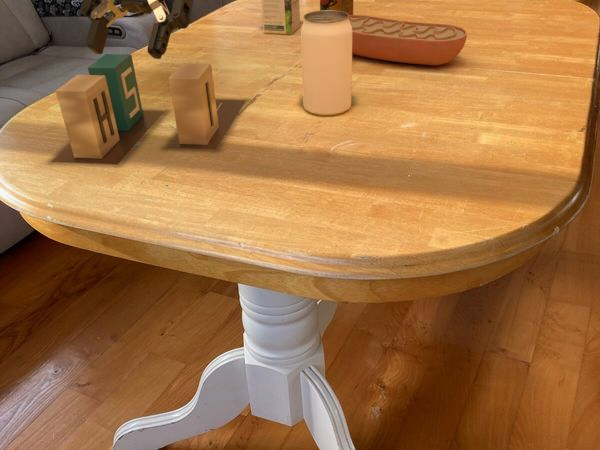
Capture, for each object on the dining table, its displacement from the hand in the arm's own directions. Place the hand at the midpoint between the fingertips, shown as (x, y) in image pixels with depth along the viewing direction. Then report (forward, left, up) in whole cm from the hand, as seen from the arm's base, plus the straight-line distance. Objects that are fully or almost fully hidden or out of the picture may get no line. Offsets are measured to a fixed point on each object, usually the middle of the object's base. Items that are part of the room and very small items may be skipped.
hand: (123, 53), depth 72 cm
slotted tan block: (+11, -2, -9) cm, 14 cm away
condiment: (+23, +43, -9) cm, 49 cm away
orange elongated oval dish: (+33, +27, -9) cm, 43 cm away
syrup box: (+12, +43, -9) cm, 46 cm away
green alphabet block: (0, -3, -8) cm, 8 cm away
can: (+25, +6, -9) cm, 27 cm away
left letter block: (0, -6, -9) cm, 11 cm away
